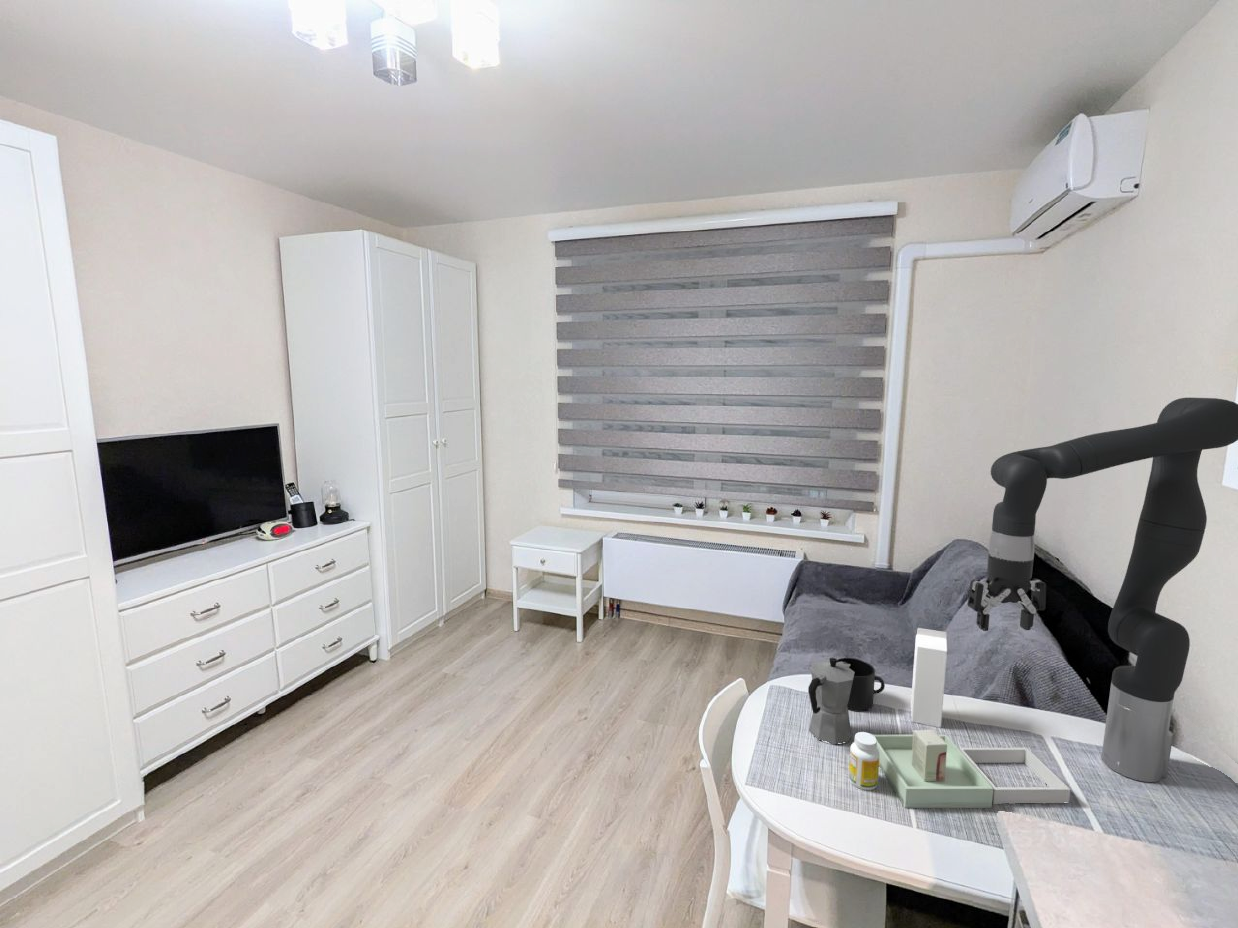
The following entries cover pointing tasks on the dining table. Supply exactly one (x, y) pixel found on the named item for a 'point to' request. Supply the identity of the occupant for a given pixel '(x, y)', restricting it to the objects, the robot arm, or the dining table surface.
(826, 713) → the coffeepot
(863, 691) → the mug
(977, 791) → the bin
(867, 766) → the supplement bottle
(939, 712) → the milk
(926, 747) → the small box
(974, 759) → the frame
